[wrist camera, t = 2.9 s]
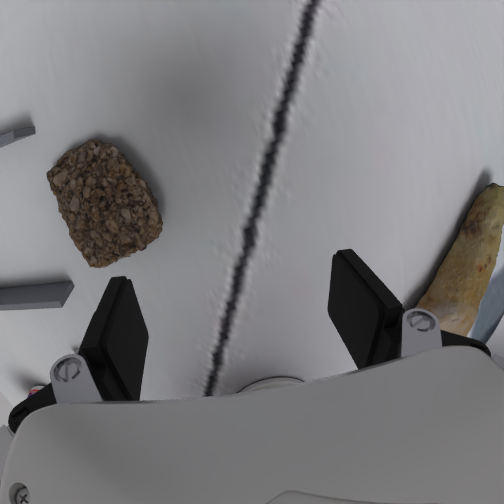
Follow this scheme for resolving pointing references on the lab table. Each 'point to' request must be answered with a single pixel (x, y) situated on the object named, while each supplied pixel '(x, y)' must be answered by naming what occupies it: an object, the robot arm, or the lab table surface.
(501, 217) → the mineral
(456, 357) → the robot arm
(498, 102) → the lab table surface
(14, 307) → the tray
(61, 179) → the concrete sample
